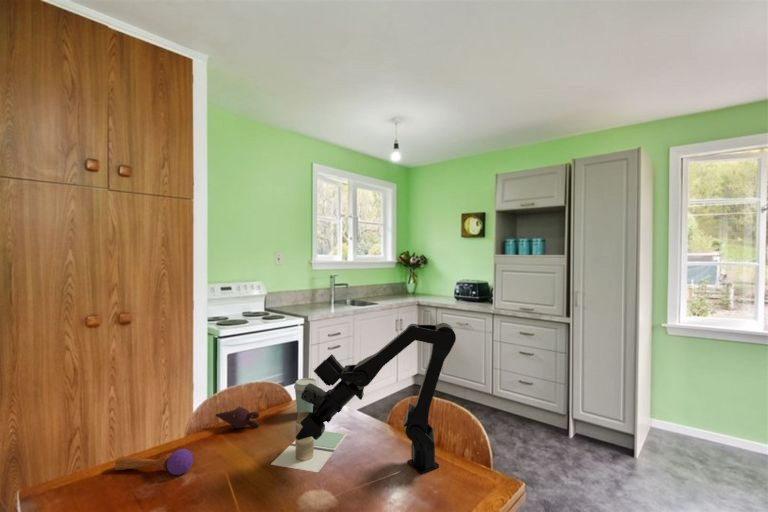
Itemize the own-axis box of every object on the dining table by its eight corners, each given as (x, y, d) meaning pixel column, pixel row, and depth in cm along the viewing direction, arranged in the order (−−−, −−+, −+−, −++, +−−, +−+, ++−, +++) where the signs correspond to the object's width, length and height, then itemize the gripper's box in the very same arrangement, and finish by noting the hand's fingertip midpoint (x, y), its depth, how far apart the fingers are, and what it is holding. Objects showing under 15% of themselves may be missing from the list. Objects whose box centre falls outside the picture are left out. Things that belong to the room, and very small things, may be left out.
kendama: (129, 447, 102) (198, 445, 100) (127, 471, 101) (197, 469, 99) (111, 454, 96) (184, 452, 94) (109, 480, 95) (183, 478, 93)
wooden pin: (316, 457, 104) (316, 413, 104) (298, 462, 101) (299, 417, 101) (309, 449, 108) (310, 407, 108) (293, 454, 105) (293, 410, 105)
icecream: (209, 413, 119) (254, 419, 118) (221, 398, 126) (263, 404, 125) (210, 431, 120) (254, 437, 119) (221, 416, 128) (263, 421, 127)
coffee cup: (322, 413, 135) (323, 380, 135) (306, 421, 127) (306, 386, 128) (305, 407, 139) (306, 376, 139) (288, 415, 132) (289, 382, 132)
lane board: (317, 473, 97) (317, 471, 97) (270, 465, 100) (270, 463, 100) (347, 435, 118) (347, 433, 118) (307, 429, 122) (307, 428, 122)
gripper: (327, 366, 114) (292, 400, 115) (308, 387, 95) (267, 427, 96) (352, 393, 113) (316, 427, 114) (338, 419, 94) (296, 460, 95)
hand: (300, 434), depth 105 cm, fingers closed on wooden pin, 5 cm apart
